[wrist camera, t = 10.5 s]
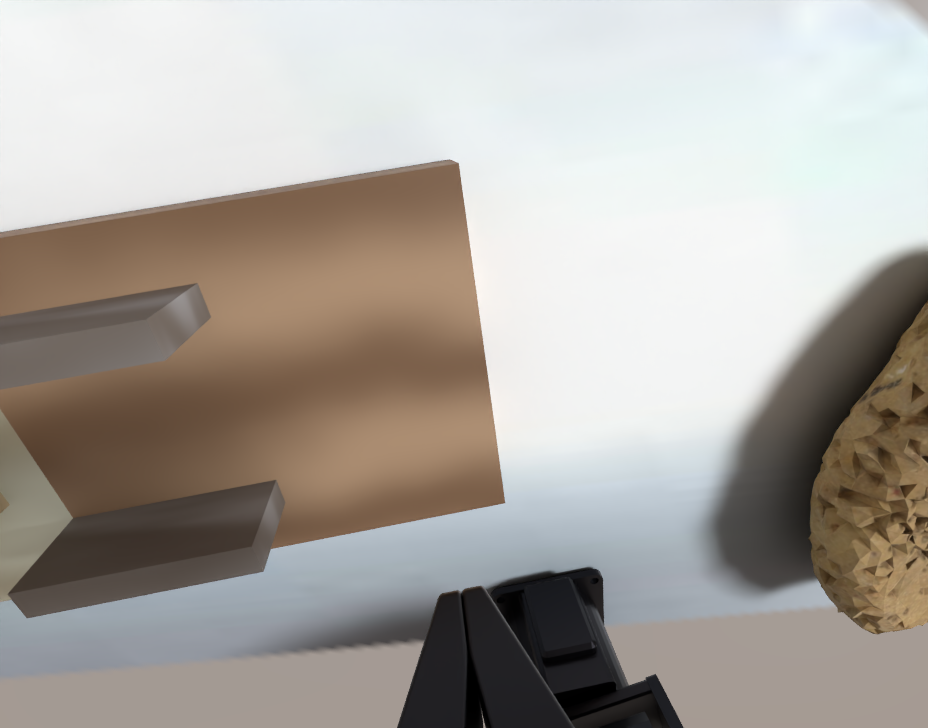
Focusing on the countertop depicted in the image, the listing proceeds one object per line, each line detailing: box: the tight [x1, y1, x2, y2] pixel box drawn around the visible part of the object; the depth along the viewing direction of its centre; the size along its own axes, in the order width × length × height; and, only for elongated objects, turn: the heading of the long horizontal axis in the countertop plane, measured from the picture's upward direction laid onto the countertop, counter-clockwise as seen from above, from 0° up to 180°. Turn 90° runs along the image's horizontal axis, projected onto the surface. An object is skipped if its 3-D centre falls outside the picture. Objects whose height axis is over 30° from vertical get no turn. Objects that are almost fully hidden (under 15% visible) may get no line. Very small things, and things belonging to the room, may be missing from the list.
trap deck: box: [0, 160, 505, 618], centre depth 17 cm, size 14×35×6 cm, turn 98°
